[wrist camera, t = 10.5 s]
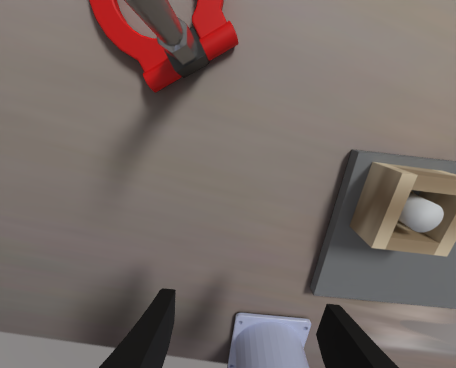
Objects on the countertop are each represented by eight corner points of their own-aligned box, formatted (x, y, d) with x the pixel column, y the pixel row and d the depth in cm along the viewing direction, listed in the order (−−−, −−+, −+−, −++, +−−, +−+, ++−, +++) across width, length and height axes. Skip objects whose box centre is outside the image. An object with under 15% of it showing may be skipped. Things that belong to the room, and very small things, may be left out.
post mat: (463, 301, 22) (511, 341, 18) (310, 287, 22) (326, 324, 18) (545, 171, 17) (632, 188, 14) (351, 149, 17) (386, 161, 13)
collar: (413, 233, 18) (447, 256, 15) (349, 226, 18) (371, 247, 15) (443, 170, 16) (487, 183, 14) (372, 161, 16) (402, 173, 13)
